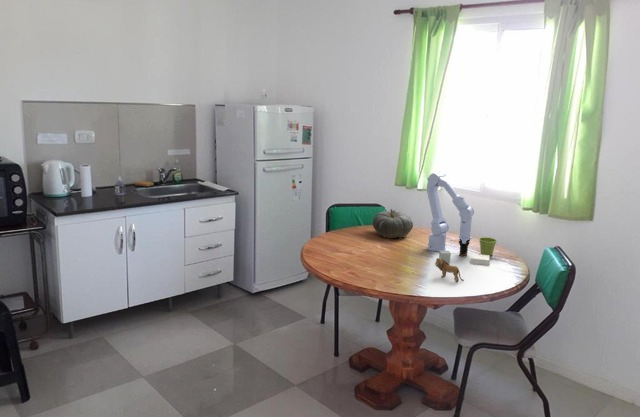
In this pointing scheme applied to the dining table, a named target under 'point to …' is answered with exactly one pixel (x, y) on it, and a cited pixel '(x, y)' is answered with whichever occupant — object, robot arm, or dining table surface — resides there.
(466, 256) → the walnut block
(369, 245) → the dining table surface
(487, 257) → the cream block
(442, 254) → the grey cube
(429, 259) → the dining table surface
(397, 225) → the gourd
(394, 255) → the dining table surface
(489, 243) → the plant pot
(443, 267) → the lion figurine
